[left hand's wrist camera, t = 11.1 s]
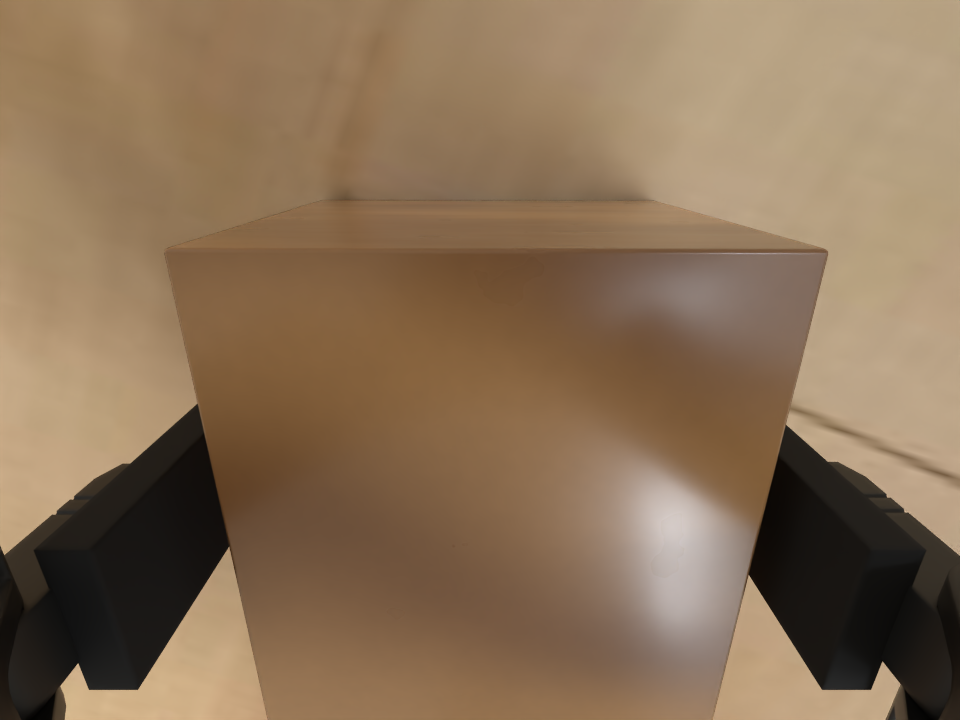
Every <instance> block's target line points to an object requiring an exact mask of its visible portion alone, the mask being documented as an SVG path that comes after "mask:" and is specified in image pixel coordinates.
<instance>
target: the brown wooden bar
mask: <svg viewBox="0 0 960 720" xmlns="http://www.w3.org/2000/svg"><path fill="white" fill-rule="evenodd" d="M827 256H828V251H827V250H825V249H823V248H819V247H816V246H812V245H809V244H805V243H802V242H798V241H795V240H791V239H787V238H784V237H780V236H777V235H773V234H770V233H766V232H763V231H759V230H756V229H752V228H749V227H745V226H741V225H738V224H734V223H731V222H727V221H724V220H720V219H717V218H713V217H710V216H706V215H703V214H699V213H695V212H692V211H688V210H685V209H681V208H678V207H674V206H671V205H667V204H664V203H660V202H657V201H553V200H321V201H318V202H315V203H312V204H308V205H305V206H302V207H299V208H295V209H292V210H289V211H286V212H283V213H279V214H276V215H273V216H270V217H266V218H263V219H260V220H257V221H253V222H250V223H247V224H244V225H241V226H237V227H234V228H231V229H228V230H224V231H221V232H218V233H215V234H211V235H208V236H205V237H202V238H199V239H195V240H192V241H189V242H186V243H182V244H179V245H176V246H173V247H169V248H167V249H165V258H166V262H167V267H168V272H169V276H170V281H171V285H172V290H173V294H174V299H175V303H176V308H177V312H178V317H179V321H180V326H181V330H182V335H183V339H184V344H185V348H186V353H187V357H188V362H189V366H190V371H191V375H192V380H193V384H194V389H195V393H196V398H197V402H198V407H199V411H200V416H201V420H202V425H203V429H204V434H205V438H206V443H207V447H208V452H209V456H210V461H211V465H212V470H213V474H214V479H215V483H216V488H217V492H218V497H219V501H220V506H221V511H222V515H223V520H224V524H225V529H226V533H227V538H228V542H229V547H230V551H231V556H232V560H233V565H234V569H235V574H236V578H237V583H238V587H239V592H240V596H241V601H242V605H243V610H244V614H245V619H246V623H247V628H248V632H249V637H250V641H251V646H252V650H253V655H254V659H255V664H256V668H257V673H258V677H259V682H260V686H261V691H262V695H263V700H264V704H265V709H266V713H267V718H268V720H713V716H714V712H715V708H716V704H717V700H718V696H719V692H720V688H721V683H722V679H723V675H724V671H725V667H726V663H727V659H728V655H729V651H730V647H731V643H732V639H733V635H734V631H735V627H736V623H737V619H738V615H739V611H740V607H741V603H742V599H743V595H744V591H745V587H746V583H747V579H748V575H749V571H750V567H751V563H752V559H753V555H754V551H755V547H756V542H757V538H758V534H759V530H760V526H761V522H762V518H763V514H764V510H765V506H766V502H767V498H768V494H769V490H770V486H771V482H772V478H773V474H774V470H775V466H776V462H777V458H778V454H779V450H780V446H781V442H782V438H783V434H784V430H785V426H786V422H787V418H788V414H789V410H790V406H791V401H792V397H793V393H794V389H795V385H796V381H797V377H798V373H799V369H800V365H801V361H802V357H803V353H804V349H805V345H806V341H807V337H808V333H809V329H810V325H811V321H812V317H813V313H814V309H815V305H816V301H817V297H818V293H819V289H820V285H821V281H822V277H823V273H824V269H825V265H826V260H827Z"/></svg>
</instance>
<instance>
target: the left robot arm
mask: <svg viewBox="0 0 960 720" xmlns="http://www.w3.org/2000/svg"><path fill="white" fill-rule="evenodd" d="M228 547H229V542H228V538H227V533H226V529H225V524H224V520H223V515H222V511H221V506H220V501H219V497H218V492H217V488H216V483H215V479H214V474H213V470H212V465H211V461H210V456H209V452H208V447H207V443H206V438H205V434H204V429H203V425H202V420H201V416H200V411H199V407H198V404H197V405H196V406H195V407H193V408H192V409H191V410H190V411H189V412H188V413H187V414H186V415H184V416H183V417H182V418H181V419H180V420H179V421H178V422H177V423H175V424H174V425H173V426H172V427H171V428H170V429H169V430H168V431H167V432H165V433H164V434H163V435H162V436H161V437H160V438H159V439H158V440H156V441H155V442H154V443H153V444H152V445H151V446H150V447H149V448H147V449H146V450H145V451H144V452H143V453H142V454H141V455H140V456H138V457H137V458H136V459H135V460H134V461H133V462H132V463H131V464H121V465H119V466H118V467H116V468H114V469H112V470H110V471H108V472H106V473H105V474H103V475H101V476H99V477H97V478H95V479H94V480H93V481H92V482H90V483H89V484H88V485H87V486H86V487H84V488H83V489H82V490H81V491H80V492H79V493H77V494H76V495H75V496H74V500H69V501H68V502H67V503H66V504H64V505H63V506H62V507H61V508H60V509H59V510H57V514H56V515H51V516H50V517H49V518H48V519H47V520H46V521H44V522H43V523H42V524H41V525H40V526H38V527H37V528H36V529H35V530H34V531H33V532H31V533H30V534H29V535H28V536H27V537H25V538H24V539H23V540H22V541H21V542H20V543H18V544H17V545H16V546H15V547H14V548H13V549H11V550H10V551H9V552H8V553H7V554H5V555H4V554H3V551H2V549H1V547H0V720H65V711H66V703H65V699H64V694H63V692H62V690H61V687H60V685H61V684H62V683H63V682H64V680H65V679H66V678H67V677H68V675H69V674H70V673H71V671H72V670H73V669H74V668H75V666H76V665H77V664H78V663H79V666H80V668H81V671H82V673H83V676H84V678H85V681H86V683H87V686H88V688H89V690H138V689H139V687H140V686H141V684H142V683H143V681H144V679H145V678H146V676H147V675H148V673H149V672H150V670H151V668H152V667H153V665H154V664H155V662H156V661H157V659H158V657H159V656H160V654H161V653H162V651H163V650H164V648H165V646H166V645H167V643H168V642H169V640H170V639H171V637H172V635H173V634H174V632H175V631H176V629H177V628H178V626H179V624H180V623H181V621H182V620H183V618H184V617H185V615H186V613H187V612H188V610H189V609H190V607H191V606H192V604H193V602H194V601H195V599H196V598H197V596H198V595H199V593H200V591H201V590H202V588H203V587H204V585H205V584H206V582H207V580H208V579H209V577H210V576H211V574H212V573H213V571H214V569H215V568H216V566H217V565H218V563H219V562H220V560H221V558H222V557H223V555H224V554H225V552H226V551H227V549H228ZM749 576H750V577H751V579H752V580H753V582H754V584H755V585H756V587H757V588H758V590H759V591H760V593H761V595H762V596H763V598H764V599H765V601H766V602H767V604H768V606H769V607H770V609H771V610H772V612H773V613H774V615H775V617H776V618H777V620H778V621H779V623H780V624H781V626H782V628H783V629H784V631H785V632H786V634H787V635H788V637H789V639H790V640H791V642H792V643H793V645H794V646H795V648H796V650H797V651H798V653H799V654H800V656H801V657H802V659H803V661H804V662H805V664H806V665H807V667H808V668H809V670H810V672H811V673H812V675H813V676H814V678H815V679H816V681H817V683H818V684H819V686H820V687H821V689H822V690H871V688H872V686H873V683H874V681H875V678H876V676H877V673H878V671H879V668H880V666H881V663H882V661H883V662H884V663H885V665H886V666H887V667H888V669H889V670H890V671H891V672H892V674H893V675H894V676H895V677H896V679H897V680H898V681H899V682H900V684H901V685H900V687H899V690H898V692H897V694H896V697H895V699H894V701H893V704H892V706H891V708H890V711H889V713H888V715H887V718H886V720H960V556H959V555H958V554H957V553H956V552H954V551H953V550H952V549H951V548H950V547H948V546H947V545H946V544H945V543H944V542H942V541H941V540H940V539H939V538H938V537H937V536H935V535H934V534H933V533H932V532H931V531H929V530H928V529H927V528H926V527H925V526H923V525H922V524H921V523H920V522H919V521H918V520H916V519H915V518H914V517H913V516H912V515H910V514H909V513H905V512H904V509H903V508H902V507H901V506H900V505H899V504H897V503H896V502H895V501H894V500H893V499H891V498H887V496H886V494H885V493H884V492H883V491H882V490H881V489H880V488H878V487H877V486H876V485H875V484H874V483H872V482H871V481H870V480H869V479H868V478H866V477H865V476H863V475H861V474H859V473H858V472H856V471H854V470H852V469H850V468H848V467H846V466H844V465H842V464H841V463H839V462H827V461H826V460H825V459H824V458H823V457H822V456H820V455H819V454H818V453H817V452H816V451H815V450H814V449H813V448H811V447H810V446H809V445H808V444H807V443H806V442H805V441H804V440H802V439H801V438H800V437H799V436H798V435H797V434H796V433H795V432H793V431H792V430H791V429H790V428H789V427H788V426H787V425H786V426H785V430H784V434H783V438H782V442H781V446H780V450H779V454H778V458H777V462H776V466H775V470H774V474H773V478H772V482H771V486H770V490H769V494H768V498H767V502H766V506H765V510H764V514H763V518H762V522H761V526H760V530H759V534H758V538H757V542H756V547H755V551H754V555H753V559H752V563H751V567H750V571H749Z"/></svg>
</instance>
